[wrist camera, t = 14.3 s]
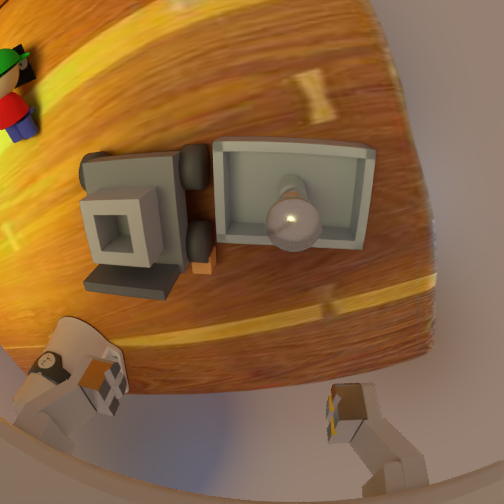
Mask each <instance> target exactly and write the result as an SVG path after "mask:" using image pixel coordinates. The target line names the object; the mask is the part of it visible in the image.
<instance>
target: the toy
mask: <svg viewBox="0 0 504 504" xmlns="http://www.w3.org/2000/svg"><path fill="white" fill-rule="evenodd" d="M29 55H30V53H25V52H24V49H23V47H22V44H20V45H18V46H16V47H15V48H13V49H0V130H3V129H6V131H7V133H8V134H9V136H10V138H11V139H12V141H13V142H14V143H16V142H18V141H20V140H21V139H23V138H24V139H29V138H31V137H32V136H34V135H35V134H36V133H37V132H38V128H37V126H36V124H35V123H34V121H33V119H32V117H31V115H30V114H31V113H33V112H34V111H35V110H34V108H33V107H31V108H29V107H28V105H27V104H26V102H25V101H24V100H23V99H22V98H21V97H20V96H19V95H18V94H16V93H14V92H12V91H13V90H14V89H15V88H17V87H19V86H21V85H23V84H25V83H27V82H30V81H32V80H34V79H36V77H35V75H34V73H33V70H32V68H31V66H30V64H29V61H28V59H27V57H28V56H29Z"/></svg>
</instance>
